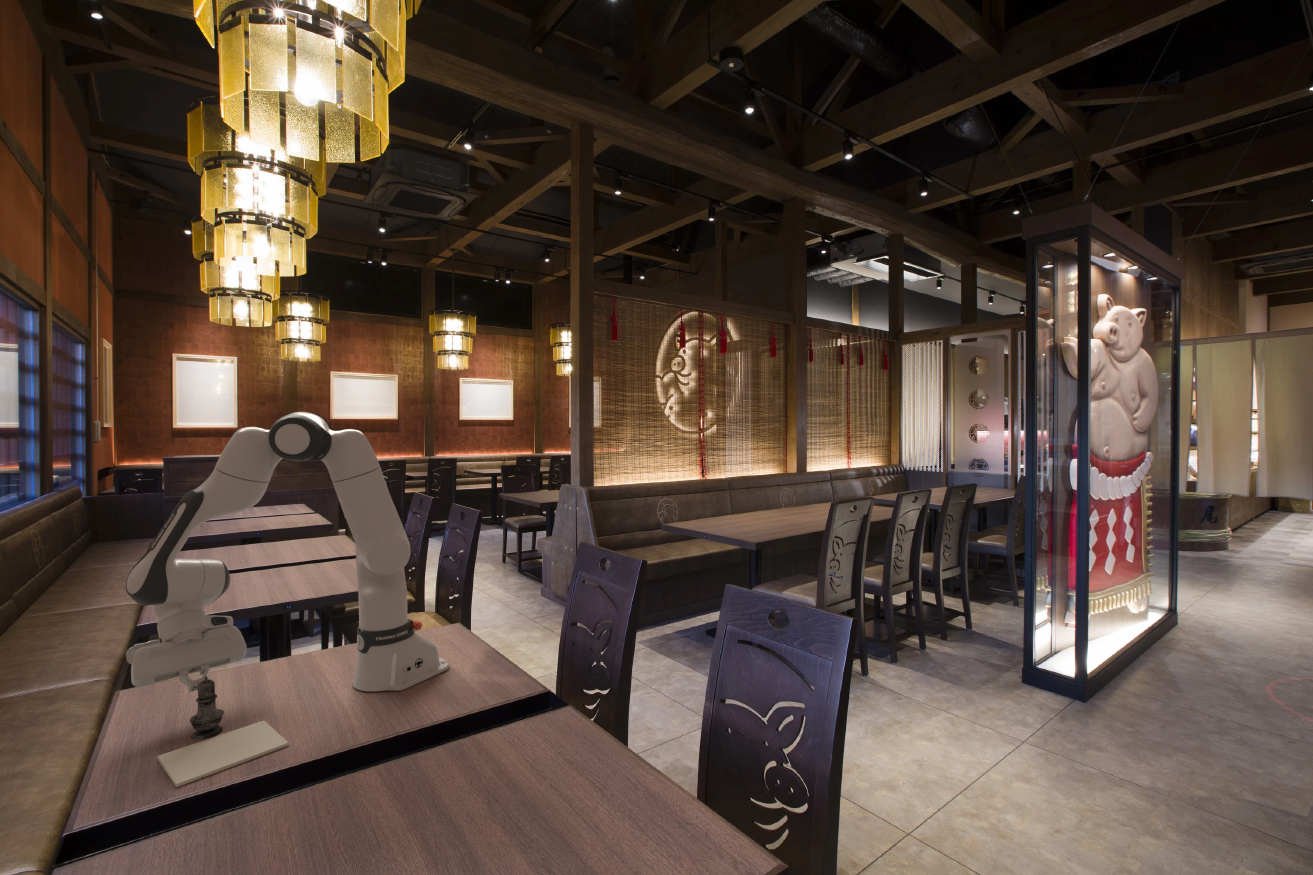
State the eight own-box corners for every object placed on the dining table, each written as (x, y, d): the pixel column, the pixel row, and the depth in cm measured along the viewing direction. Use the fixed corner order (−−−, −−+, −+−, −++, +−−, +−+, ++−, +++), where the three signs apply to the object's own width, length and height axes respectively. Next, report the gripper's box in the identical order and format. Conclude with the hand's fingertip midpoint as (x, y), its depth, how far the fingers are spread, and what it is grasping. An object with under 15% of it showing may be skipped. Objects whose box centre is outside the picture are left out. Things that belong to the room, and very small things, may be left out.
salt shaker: (206, 741, 123) (204, 683, 123) (182, 738, 124) (180, 680, 124) (231, 727, 129) (230, 671, 128) (208, 724, 130) (207, 669, 129)
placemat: (264, 722, 130) (264, 720, 130) (288, 745, 121) (288, 742, 121) (157, 758, 117) (157, 755, 117) (176, 787, 108) (176, 783, 108)
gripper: (126, 639, 127) (137, 698, 121) (239, 614, 143) (255, 666, 137) (122, 654, 130) (133, 713, 124) (234, 629, 146) (248, 680, 140)
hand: (198, 688), depth 131 cm, fingers closed
